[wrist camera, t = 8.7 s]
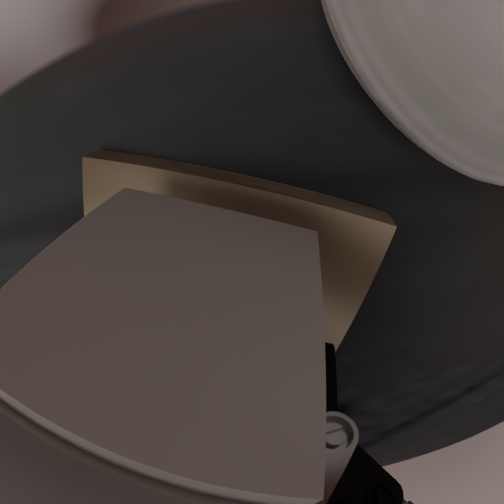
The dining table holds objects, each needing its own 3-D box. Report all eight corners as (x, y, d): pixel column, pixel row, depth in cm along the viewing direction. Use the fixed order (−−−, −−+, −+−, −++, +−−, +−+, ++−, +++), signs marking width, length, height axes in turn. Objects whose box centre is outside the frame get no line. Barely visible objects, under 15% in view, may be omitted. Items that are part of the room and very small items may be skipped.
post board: (293, 405, 21) (285, 488, 15) (117, 358, 21) (79, 428, 15) (387, 212, 13) (445, 315, 7) (100, 149, 13) (-6, 203, 7)
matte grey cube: (270, 361, 13) (242, 533, 6) (130, 323, 13) (51, 466, 7) (317, 231, 10) (323, 499, 3) (124, 187, 10) (-52, 345, 3)
